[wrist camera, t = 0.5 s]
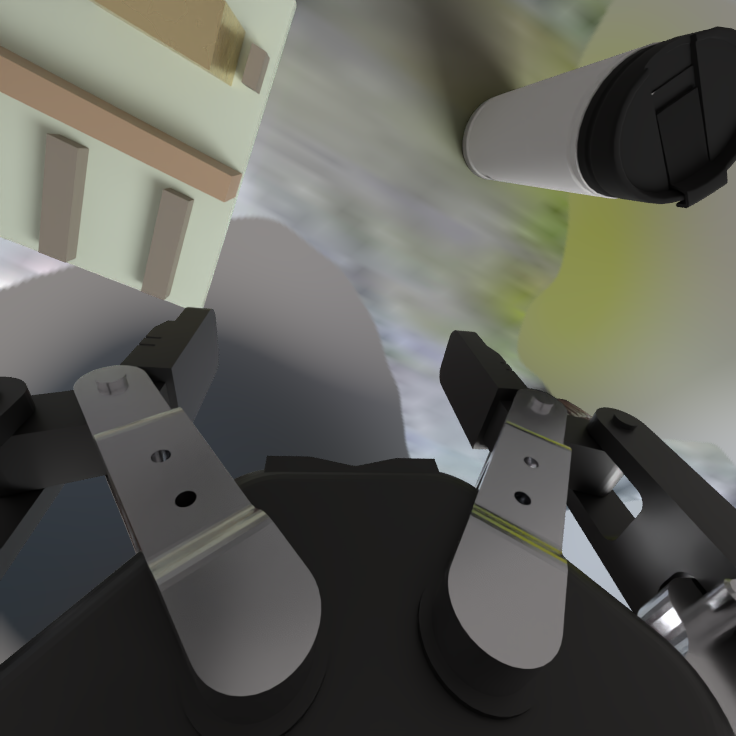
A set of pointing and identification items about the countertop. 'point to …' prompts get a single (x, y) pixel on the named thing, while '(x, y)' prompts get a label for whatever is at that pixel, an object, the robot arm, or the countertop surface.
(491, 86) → the countertop surface
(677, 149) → the travel mug
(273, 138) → the countertop surface
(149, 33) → the bar
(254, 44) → the door board
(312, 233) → the countertop surface
